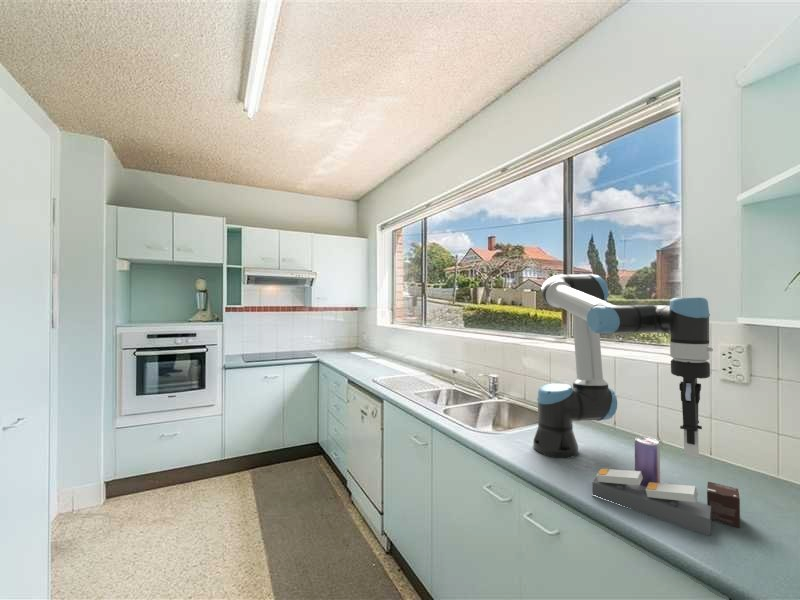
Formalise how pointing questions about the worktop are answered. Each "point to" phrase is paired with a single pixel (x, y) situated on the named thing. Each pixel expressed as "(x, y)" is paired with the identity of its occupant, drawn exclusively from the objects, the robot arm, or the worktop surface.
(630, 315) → the robot arm
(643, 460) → the beverage can
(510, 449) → the worktop surface
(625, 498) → the switch panel
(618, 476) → the block
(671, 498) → the rocker right
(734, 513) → the box
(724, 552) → the worktop surface
